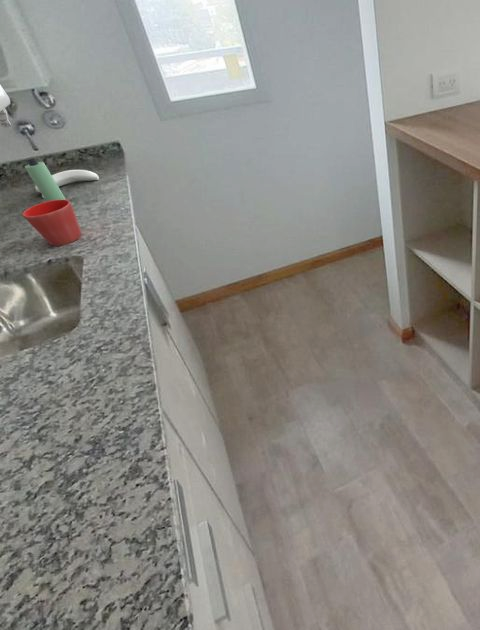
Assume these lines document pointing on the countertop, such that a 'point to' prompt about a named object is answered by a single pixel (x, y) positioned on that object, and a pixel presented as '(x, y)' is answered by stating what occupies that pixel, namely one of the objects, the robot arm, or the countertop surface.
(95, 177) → the banana
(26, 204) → the countertop surface
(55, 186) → the soap bottle
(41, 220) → the flower pot
